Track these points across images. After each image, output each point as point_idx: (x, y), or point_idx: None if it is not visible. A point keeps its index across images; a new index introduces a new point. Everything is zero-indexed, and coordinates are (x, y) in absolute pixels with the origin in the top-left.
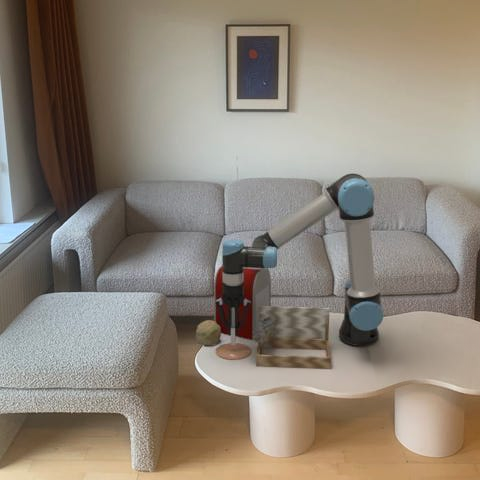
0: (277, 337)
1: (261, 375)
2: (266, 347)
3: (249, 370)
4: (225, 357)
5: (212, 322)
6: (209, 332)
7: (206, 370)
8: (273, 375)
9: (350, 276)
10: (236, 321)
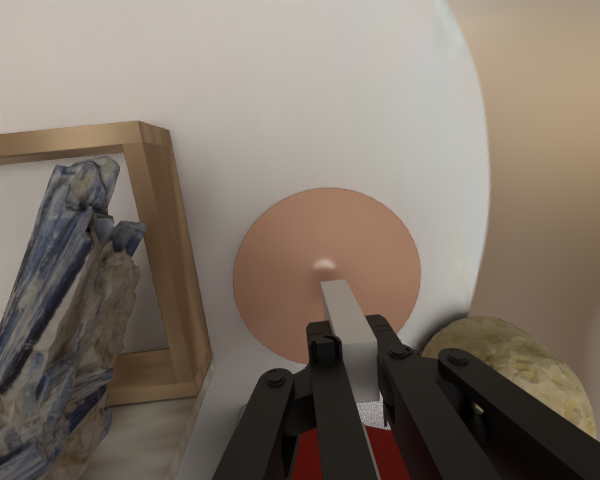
0: None
1: (105, 8)
2: (166, 352)
3: (193, 67)
4: (356, 192)
5: None
6: (511, 362)
7: (440, 22)
8: (34, 21)
9: None
10: (334, 403)
